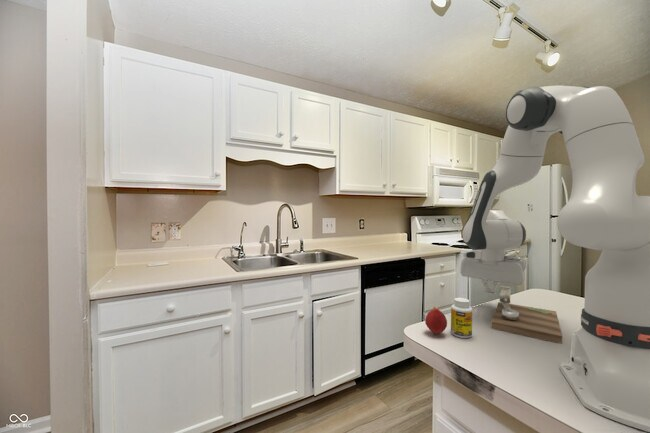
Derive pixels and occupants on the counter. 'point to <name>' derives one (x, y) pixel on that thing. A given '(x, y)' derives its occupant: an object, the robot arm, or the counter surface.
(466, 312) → the supplement bottle
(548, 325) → the board
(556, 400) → the counter surface
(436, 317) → the onion
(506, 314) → the silver measuring spoon
